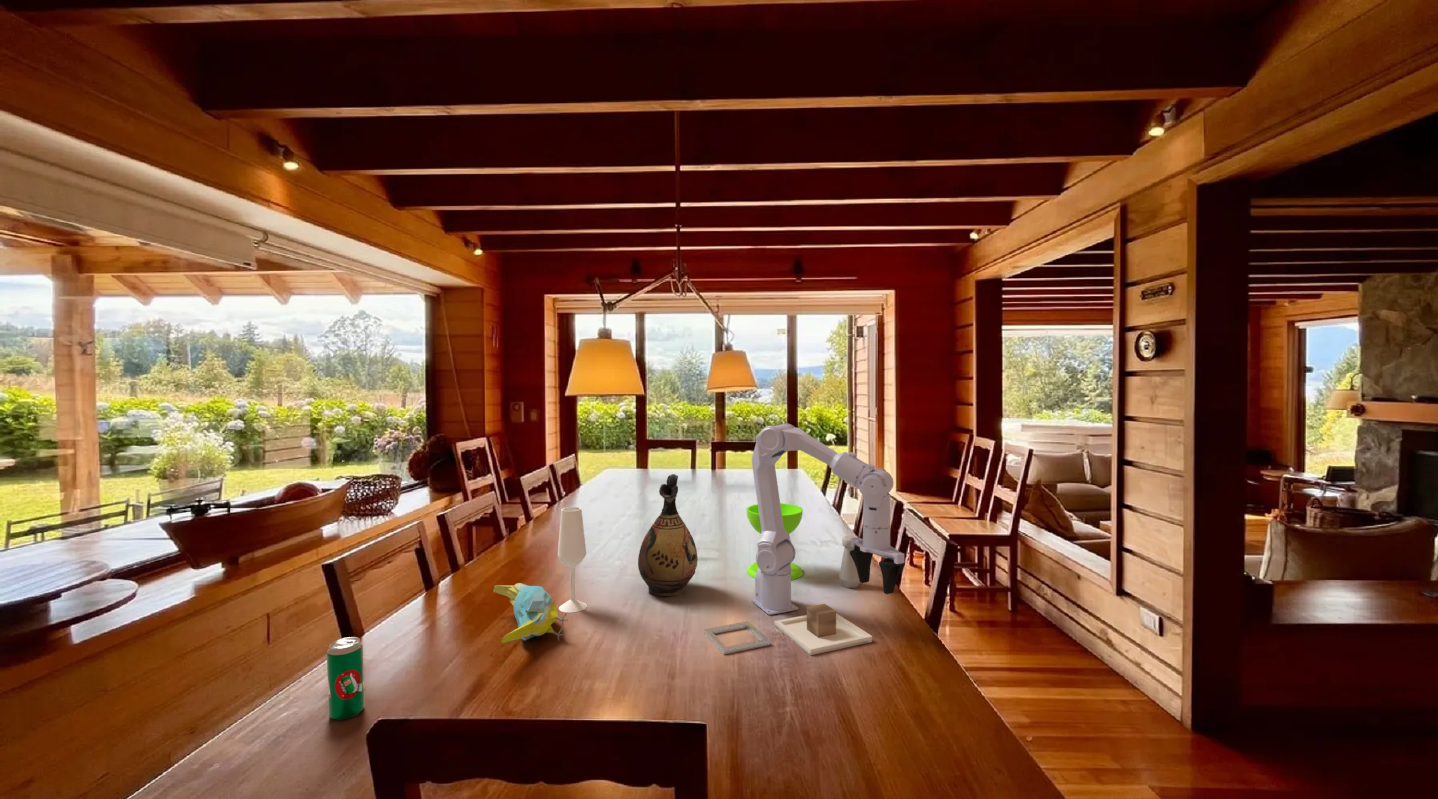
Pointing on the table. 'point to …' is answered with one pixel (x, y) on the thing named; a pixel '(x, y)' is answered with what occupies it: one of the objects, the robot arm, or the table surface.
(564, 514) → the champagne flute
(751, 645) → the frame
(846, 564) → the salt shaker
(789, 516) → the wineglass
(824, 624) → the walnut block
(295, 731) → the table surface
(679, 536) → the ceramic jug
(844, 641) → the tray
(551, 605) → the decorative bird
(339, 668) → the soda can
